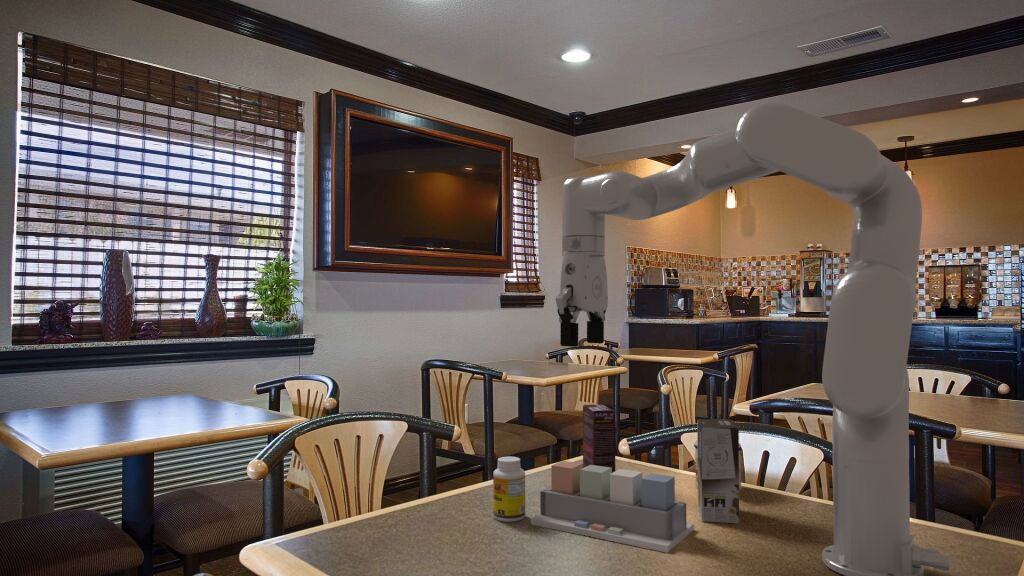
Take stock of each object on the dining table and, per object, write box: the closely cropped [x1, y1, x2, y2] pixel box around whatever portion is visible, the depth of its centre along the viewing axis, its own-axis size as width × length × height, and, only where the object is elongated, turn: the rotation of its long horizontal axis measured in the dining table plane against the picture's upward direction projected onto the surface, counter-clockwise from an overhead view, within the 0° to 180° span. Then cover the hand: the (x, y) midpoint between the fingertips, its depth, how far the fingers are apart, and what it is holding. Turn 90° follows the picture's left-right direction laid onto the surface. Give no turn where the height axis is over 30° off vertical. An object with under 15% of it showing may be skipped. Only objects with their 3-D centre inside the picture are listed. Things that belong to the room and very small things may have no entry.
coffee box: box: [696, 418, 740, 524], centre depth 119 cm, size 9×6×16 cm
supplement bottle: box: [492, 456, 526, 523], centre depth 118 cm, size 6×6×10 cm
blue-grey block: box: [641, 473, 676, 511], centre depth 108 cm, size 4×4×5 cm
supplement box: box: [582, 404, 616, 473], centre depth 138 cm, size 9×5×16 cm, turn 9°
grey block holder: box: [530, 485, 695, 554], centre depth 113 cm, size 24×12×5 cm, turn 57°
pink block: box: [550, 460, 583, 495], centre depth 117 cm, size 4×4×5 cm
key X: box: [610, 468, 643, 505], centre depth 111 cm, size 4×4×5 cm
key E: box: [580, 465, 612, 500], centre depth 114 cm, size 4×4×5 cm
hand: (582, 344), depth 120 cm, fingers open, 9 cm apart
